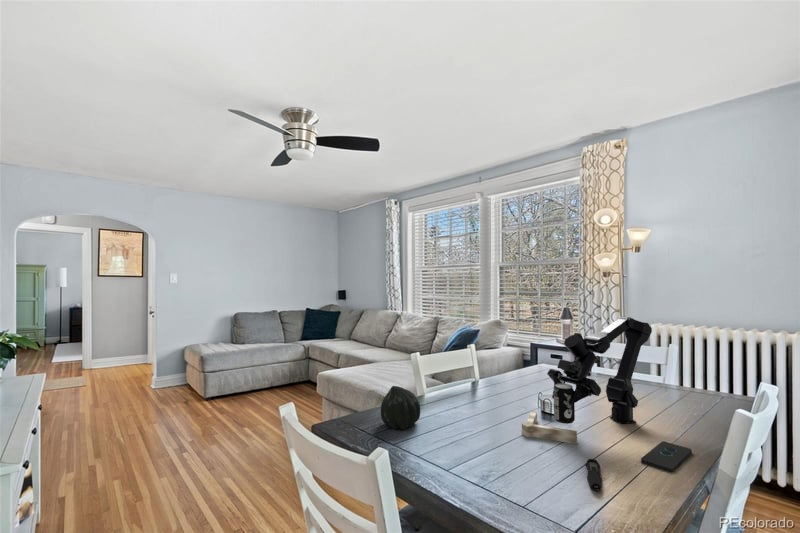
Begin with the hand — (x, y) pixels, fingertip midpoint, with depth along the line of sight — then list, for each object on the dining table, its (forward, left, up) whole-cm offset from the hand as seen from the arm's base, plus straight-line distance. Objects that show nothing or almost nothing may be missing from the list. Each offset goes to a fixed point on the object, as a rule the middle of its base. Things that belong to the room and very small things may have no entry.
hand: (561, 401), depth 135 cm
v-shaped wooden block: (+6, -3, -11) cm, 13 cm away
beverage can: (-1, 0, -7) cm, 7 cm away
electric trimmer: (+8, +28, -12) cm, 32 cm away
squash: (+53, -17, -12) cm, 57 cm away
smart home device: (-22, +21, -12) cm, 32 cm away
